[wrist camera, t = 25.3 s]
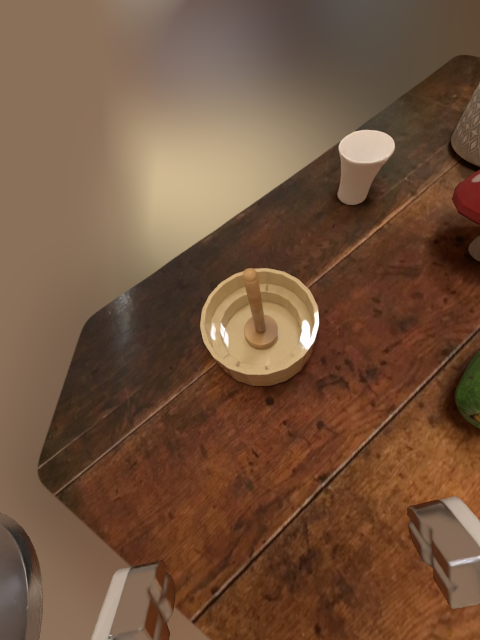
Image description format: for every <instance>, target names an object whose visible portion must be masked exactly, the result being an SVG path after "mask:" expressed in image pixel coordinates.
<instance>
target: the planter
mask: <svg viewBox="0 0 480 640" xmlns="http://www.w3.org/2000/svg"><path fill="white" fill-rule="evenodd" d="M451 145H452V147H453V149H454V151H455V152H456V153H457V154H458V155H459V156H461V157H462V158H463V159H464V160H466V161H467V162H469V163H471V164H473V165H475V166H478V167H480V83H479V85H478V86H477V88H476V90H475V92H474V94H473V96H472V98H471V100H470V102H469V104H468V105H467V107H466V109H465V111H464V113H463V115H462V117H461V119H460V121H459V123H458V124H457V126H456V128H455V130H454V132H453V134H452V137H451Z"/></svg>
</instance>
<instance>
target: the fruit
mask: <svg viewBox="0 0 480 640" xmlns="http://www.w3.org/2000/svg"><path fill="white" fill-rule="evenodd" d="M455 402H456V405H457V407H458V410H459V412H460V413H461V415H462V416H463V417H464V418H465V419H466V420H467V421H468V422H469V423H471V424H472V425H474V426H475V427H477V428H479V429H480V350H479V351H478V352H477V353H476V354H475V356H474V357H473V358H472V360H471V362H470V363H469V365H468V367H467V369H466V370H465V372H464V374H463V376H462V378H461V379H460V381H459V384H458V386H457V388H456V390H455Z"/></svg>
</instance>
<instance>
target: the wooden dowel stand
mask: <svg viewBox="0 0 480 640" xmlns="http://www.w3.org/2000/svg"><path fill="white" fill-rule="evenodd" d="M243 280H244V284H245V288H246V293H247V297H248V301H249V305H250V309H251V313H252V317H251V318H250V319H249V320H248V321H247V322H246V324H245V327H244V334H245V337H246V340H247V342H248V343H249V344H250V346H252V347H253V348H255V349H260V350H263V349H268V348H270V347H272V346H273V345H274V344H275V343H276V341H277V339H278V325H277V323H276V321H275V320H274V319H273V318H272V317H270V316H268V315H265V314H264V312H263V305H262V299H261V293H260V286H259V280H258V274H257V272H256V270H254V269H252V268H248V269H246V270H245V271H244V272H243Z"/></svg>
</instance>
